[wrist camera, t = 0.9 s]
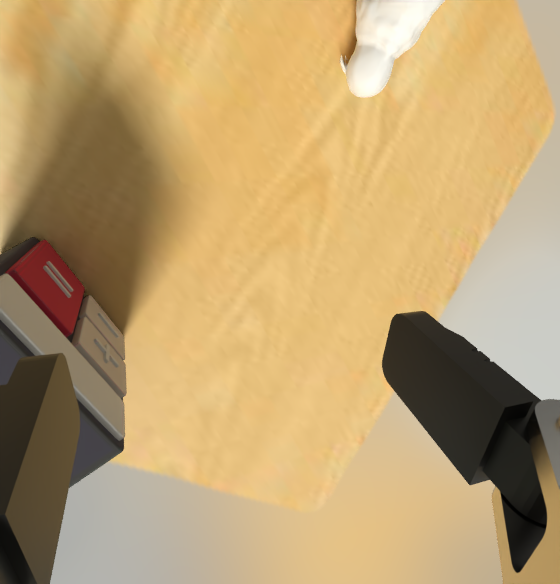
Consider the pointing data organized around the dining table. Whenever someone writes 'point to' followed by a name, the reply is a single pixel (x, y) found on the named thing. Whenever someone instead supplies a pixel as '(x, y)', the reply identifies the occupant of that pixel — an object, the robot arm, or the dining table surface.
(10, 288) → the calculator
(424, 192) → the dining table surface
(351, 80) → the white animal figurine
